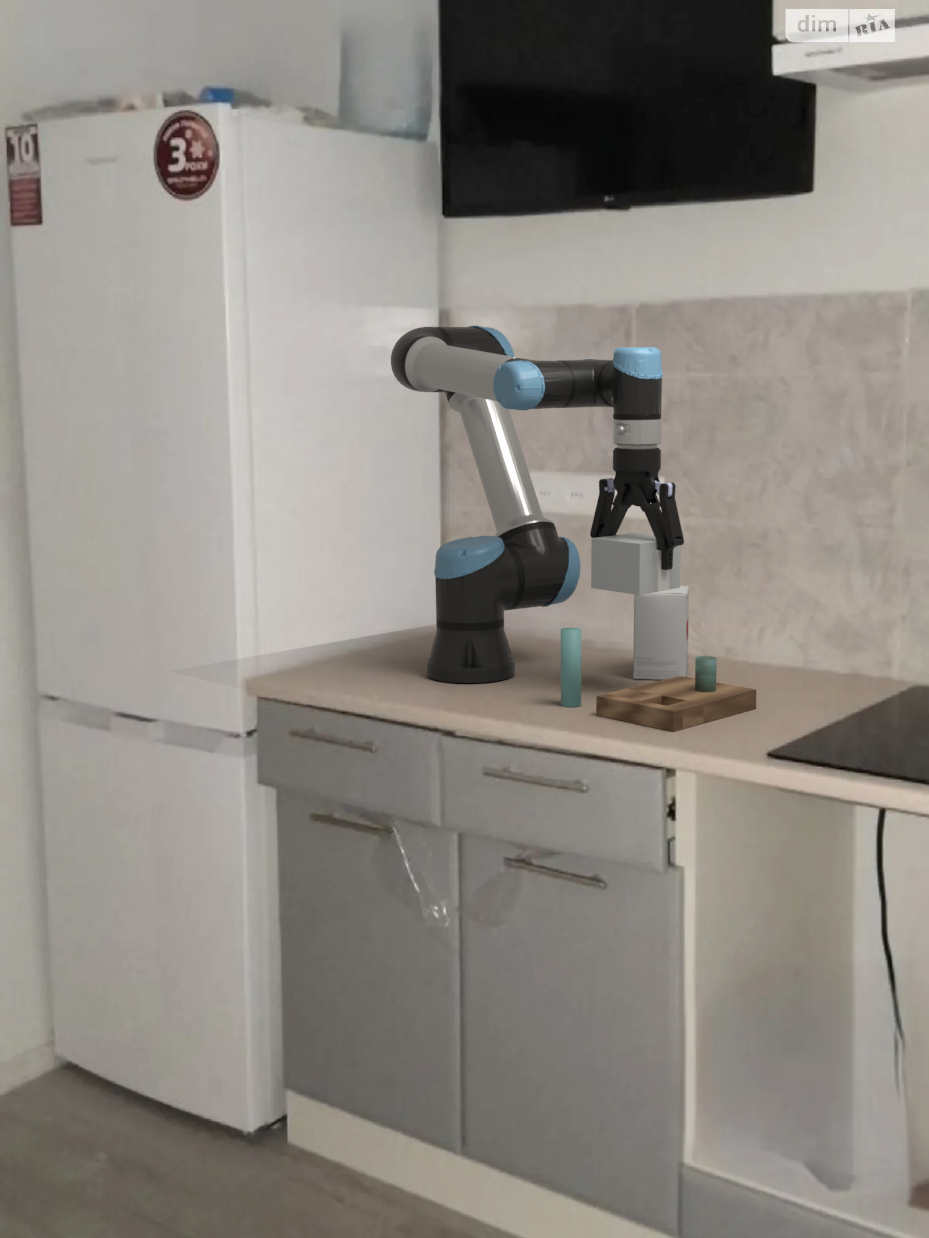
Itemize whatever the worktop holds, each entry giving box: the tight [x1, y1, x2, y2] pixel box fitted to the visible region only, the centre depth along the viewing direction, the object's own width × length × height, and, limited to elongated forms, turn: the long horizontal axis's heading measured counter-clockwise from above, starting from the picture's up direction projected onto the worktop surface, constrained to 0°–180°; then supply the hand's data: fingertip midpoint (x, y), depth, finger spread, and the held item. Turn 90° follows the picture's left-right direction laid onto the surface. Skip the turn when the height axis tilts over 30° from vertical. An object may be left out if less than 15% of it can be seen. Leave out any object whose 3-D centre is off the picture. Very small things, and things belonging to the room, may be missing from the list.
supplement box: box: [632, 585, 690, 681], centre depth 258 cm, size 9×9×15 cm
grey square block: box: [590, 532, 682, 595], centre depth 242 cm, size 10×10×8 cm
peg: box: [560, 627, 582, 708], centre depth 238 cm, size 3×3×12 cm
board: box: [595, 655, 757, 732], centre depth 232 cm, size 15×20×8 cm
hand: (635, 586), depth 243 cm, fingers closed on grey square block, 10 cm apart
